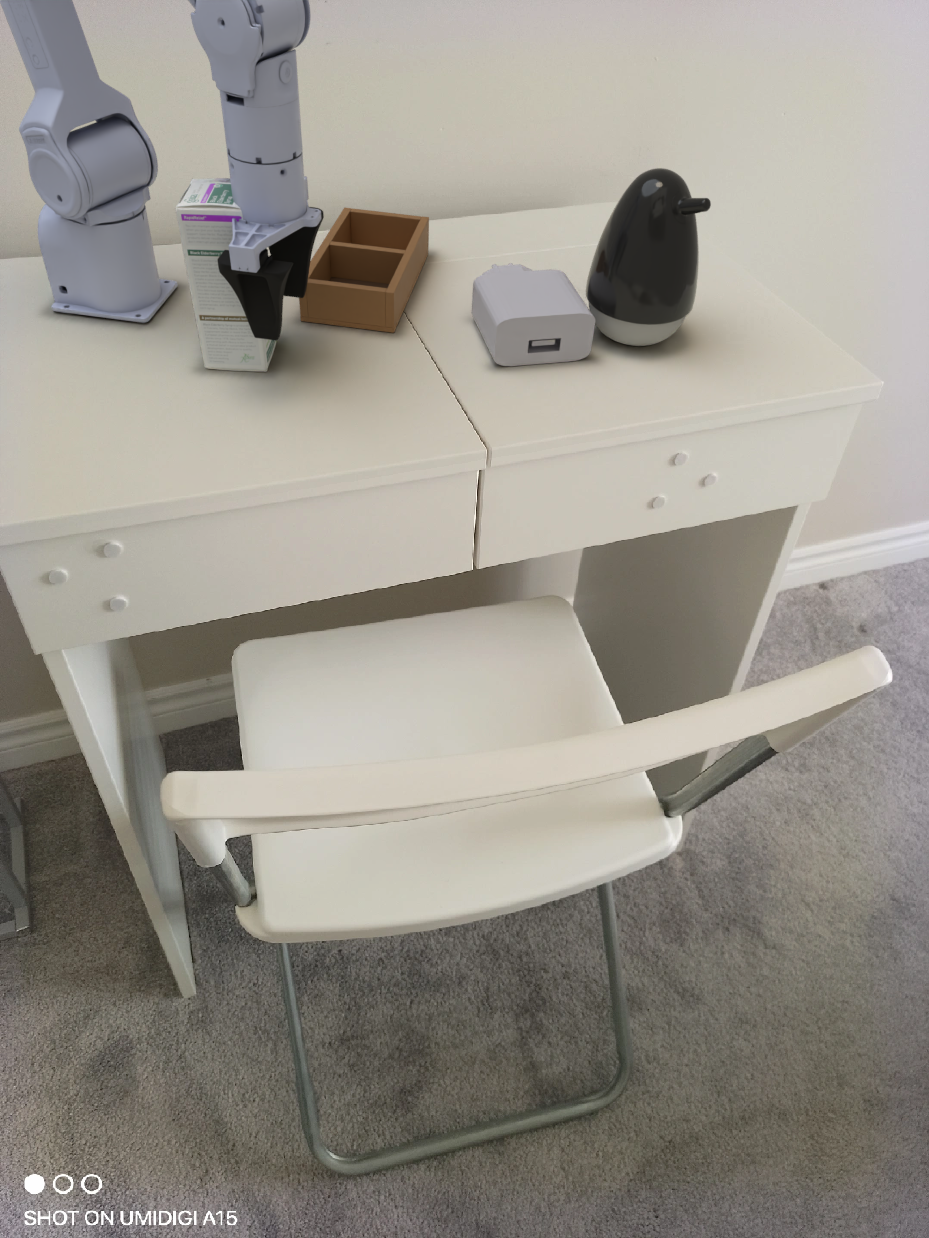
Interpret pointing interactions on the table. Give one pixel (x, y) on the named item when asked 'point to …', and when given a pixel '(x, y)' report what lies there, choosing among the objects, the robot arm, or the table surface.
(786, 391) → the table surface
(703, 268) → the table surface
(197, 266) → the syrup box
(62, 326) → the table surface
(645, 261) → the pump dispenser
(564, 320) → the charger
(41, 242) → the robot arm
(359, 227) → the divided box
